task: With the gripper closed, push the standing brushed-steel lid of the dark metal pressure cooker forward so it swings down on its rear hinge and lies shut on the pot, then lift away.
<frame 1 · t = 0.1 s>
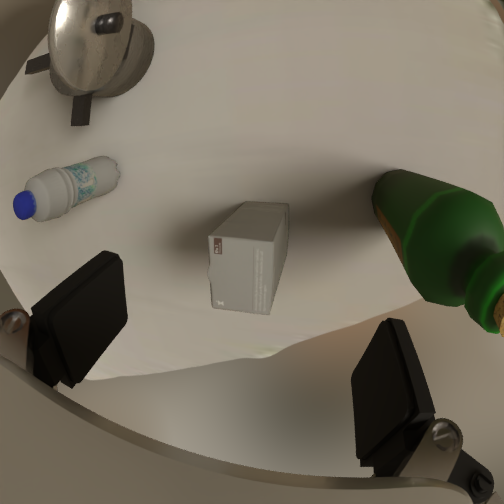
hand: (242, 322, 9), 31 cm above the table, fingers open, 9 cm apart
skincare box: (264, 226, 41), on the table
bottle: (109, 172, 42), on the table
cooker: (117, 57, 33), on the table
lid: (105, 24, 17), point 17 cm above the table, hinge at 100.0°
bottle 2: (398, 198, 36), on the table
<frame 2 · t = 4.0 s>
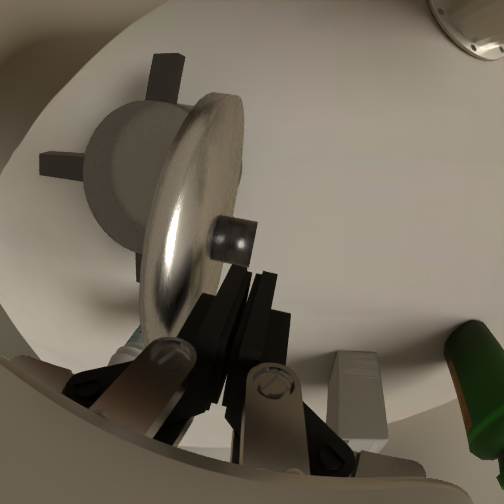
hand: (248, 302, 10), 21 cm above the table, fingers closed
skincare box: (349, 366, 39), on the table
bottle: (179, 306, 39), on the table
cooker: (182, 165, 31), on the table
lid: (225, 239, 15), point 17 cm above the table, hinge at 94.8°, touching gripper
bottle 2: (464, 339, 34), on the table
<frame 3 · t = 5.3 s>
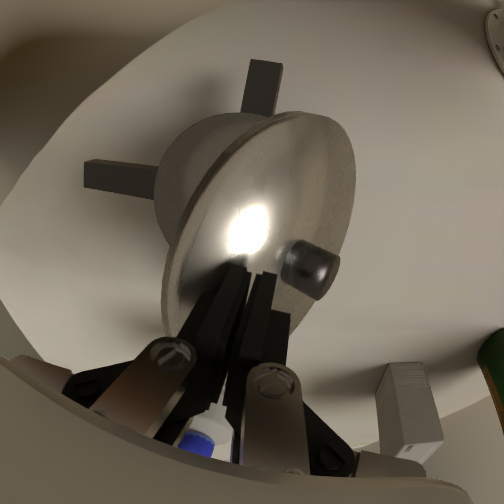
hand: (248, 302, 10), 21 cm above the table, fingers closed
skincare box: (396, 376, 38), on the table
bottle: (236, 328, 38), on the table
cooker: (255, 183, 29), on the table
lid: (302, 265, 14), point 17 cm above the table, hinge at 59.5°, touching gripper
bottle 2: (494, 345, 33), on the table
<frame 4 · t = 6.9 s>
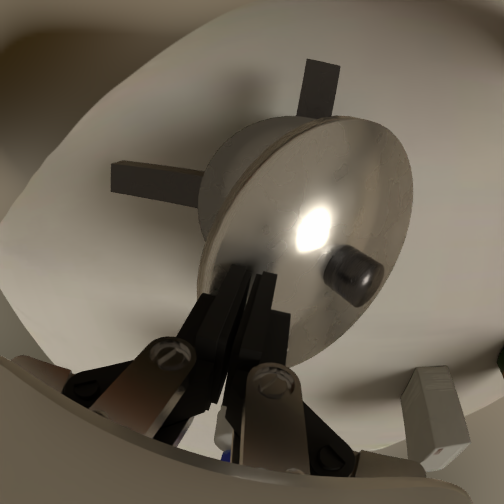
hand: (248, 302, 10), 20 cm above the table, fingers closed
skincare box: (421, 380, 36), on the table
bottle: (268, 337, 37), on the table
cooker: (296, 189, 28), on the table
lid: (347, 270, 14), point 16 cm above the table, hinge at 43.4°
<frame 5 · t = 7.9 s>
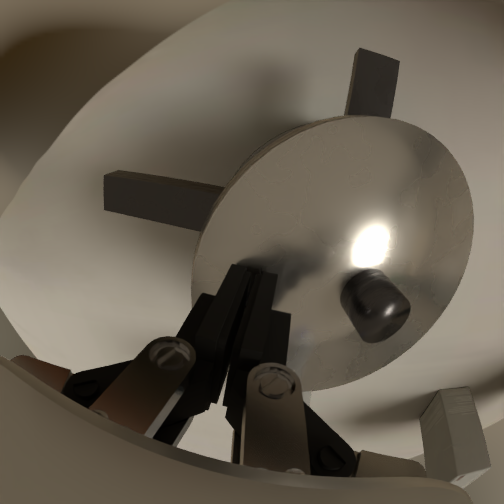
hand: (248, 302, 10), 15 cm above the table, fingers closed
skincare box: (442, 401, 32), on the table
cooker: (329, 205, 23), on the table
lid: (369, 298, 11), point 14 cm above the table, hinge at 20.3°, touching gripper
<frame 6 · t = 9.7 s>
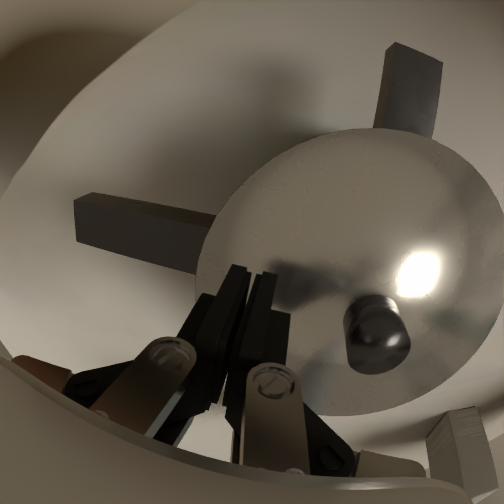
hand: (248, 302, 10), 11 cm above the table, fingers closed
skincare box: (449, 421, 28), on the table
cooker: (342, 230, 20), on the table
lid: (373, 326, 10), point 11 cm above the table, hinge at -0.1°
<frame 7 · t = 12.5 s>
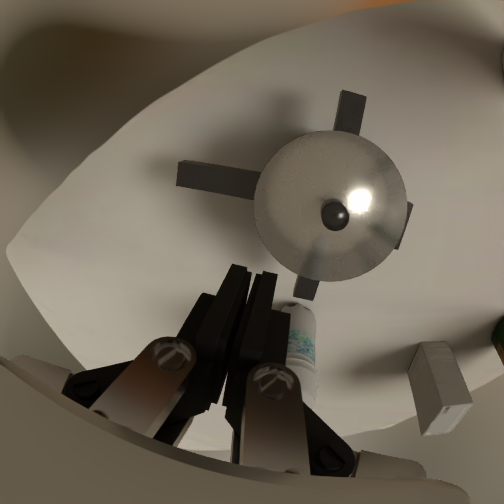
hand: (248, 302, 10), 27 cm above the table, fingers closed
skincare box: (425, 355, 43), on the table
bottle: (295, 315, 43), on the table
cooker: (324, 188, 34), on the table
lid: (333, 212, 24), point 11 cm above the table, hinge at -0.1°
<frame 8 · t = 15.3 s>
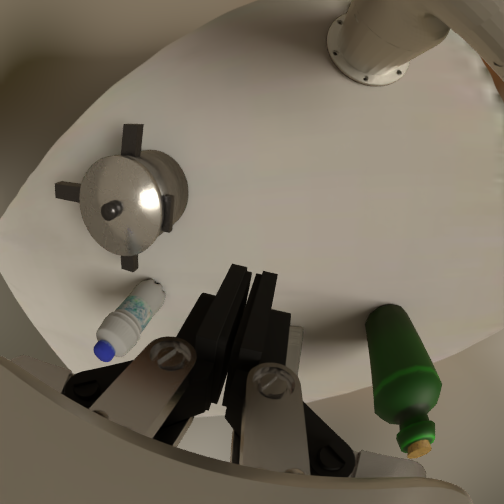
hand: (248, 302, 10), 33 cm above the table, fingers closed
skincare box: (284, 338, 53), on the table
bottle: (154, 289, 54), on the table
cooker: (150, 190, 45), on the table
lid: (113, 209, 35), point 11 cm above the table, hinge at -0.1°
bottle 2: (385, 320, 48), on the table
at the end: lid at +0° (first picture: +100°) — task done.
